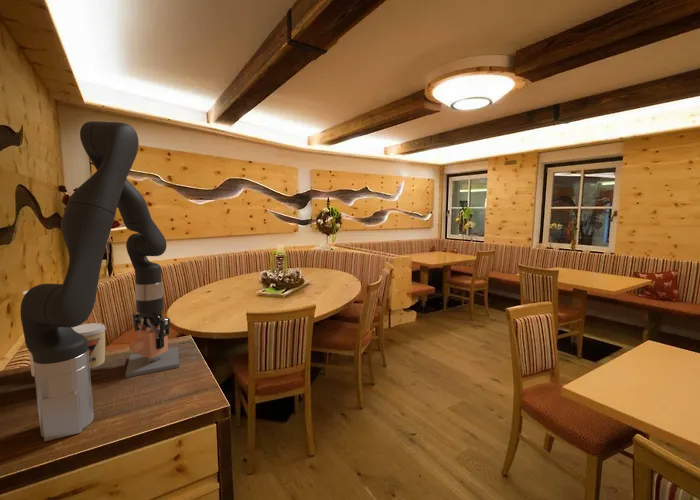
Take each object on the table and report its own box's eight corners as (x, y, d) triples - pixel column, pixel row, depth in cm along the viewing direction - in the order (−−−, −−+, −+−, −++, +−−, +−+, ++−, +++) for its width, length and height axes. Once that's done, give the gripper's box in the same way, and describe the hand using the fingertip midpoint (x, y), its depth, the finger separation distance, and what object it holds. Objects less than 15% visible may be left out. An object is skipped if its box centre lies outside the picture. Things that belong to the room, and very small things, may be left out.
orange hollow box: (168, 350, 106) (167, 327, 104) (140, 363, 97) (138, 338, 96) (155, 347, 108) (153, 324, 107) (126, 359, 99) (124, 334, 98)
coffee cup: (64, 373, 96) (61, 335, 95) (77, 359, 105) (74, 324, 103) (102, 368, 100) (99, 331, 98) (111, 355, 108) (109, 321, 107)
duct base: (179, 367, 101) (178, 342, 100) (125, 377, 95) (123, 351, 94) (178, 350, 113) (177, 327, 112) (130, 358, 107) (129, 334, 106)
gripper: (176, 296, 102) (179, 346, 104) (145, 290, 107) (147, 338, 109) (155, 302, 95) (158, 355, 97) (122, 296, 100) (125, 347, 103)
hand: (152, 346), depth 103 cm, fingers closed on orange hollow box, 6 cm apart
